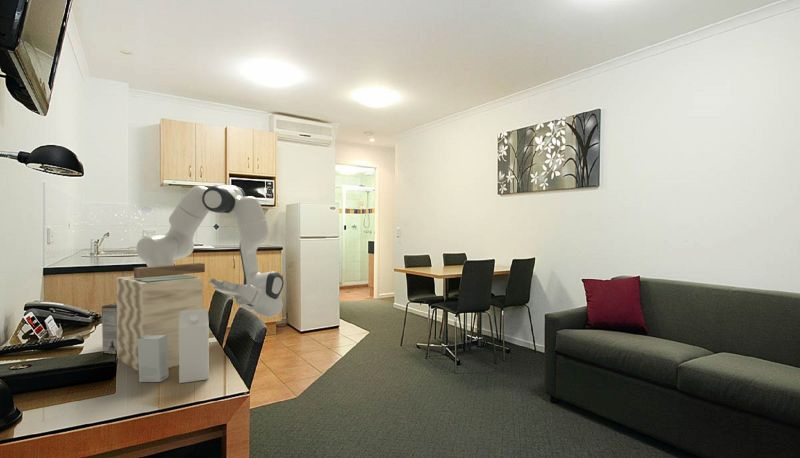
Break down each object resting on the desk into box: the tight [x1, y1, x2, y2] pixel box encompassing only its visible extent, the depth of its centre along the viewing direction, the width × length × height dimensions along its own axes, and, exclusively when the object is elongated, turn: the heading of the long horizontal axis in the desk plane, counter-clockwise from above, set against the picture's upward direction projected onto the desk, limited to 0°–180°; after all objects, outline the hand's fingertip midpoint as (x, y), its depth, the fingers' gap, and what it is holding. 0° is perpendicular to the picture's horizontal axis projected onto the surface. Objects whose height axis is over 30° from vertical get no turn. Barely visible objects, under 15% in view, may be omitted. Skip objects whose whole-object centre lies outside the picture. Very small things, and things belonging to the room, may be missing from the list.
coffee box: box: [101, 302, 117, 352], centre depth 142 cm, size 9×6×16 cm
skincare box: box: [137, 335, 170, 383], centre depth 115 cm, size 6×4×12 cm
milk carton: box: [178, 308, 210, 384], centre depth 116 cm, size 7×7×19 cm
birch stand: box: [115, 274, 204, 372], centre depth 132 cm, size 22×17×26 cm
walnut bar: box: [133, 262, 206, 278], centre depth 141 cm, size 4×21×3 cm, turn 141°
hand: (216, 281), depth 153 cm, fingers open, 8 cm apart
